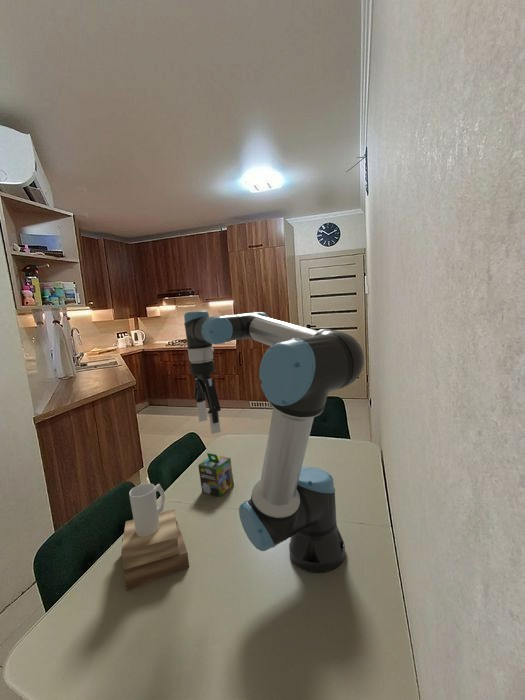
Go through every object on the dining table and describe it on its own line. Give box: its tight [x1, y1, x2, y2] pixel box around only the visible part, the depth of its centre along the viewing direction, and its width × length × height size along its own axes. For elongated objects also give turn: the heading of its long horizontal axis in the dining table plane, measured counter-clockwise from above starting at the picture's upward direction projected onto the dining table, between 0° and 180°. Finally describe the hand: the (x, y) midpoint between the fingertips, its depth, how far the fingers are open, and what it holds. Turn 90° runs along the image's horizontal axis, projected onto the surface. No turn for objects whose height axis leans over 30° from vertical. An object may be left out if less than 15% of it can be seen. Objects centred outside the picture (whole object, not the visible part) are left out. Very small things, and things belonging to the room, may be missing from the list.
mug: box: [128, 482, 166, 537], centre depth 97 cm, size 10×7×12 cm, turn 143°
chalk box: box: [198, 452, 235, 498], centre depth 132 cm, size 9×9×15 cm
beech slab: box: [120, 509, 179, 571], centre depth 97 cm, size 14×14×5 cm
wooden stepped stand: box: [121, 520, 190, 592], centre depth 98 cm, size 16×16×5 cm
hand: (209, 426), depth 110 cm, fingers open, 13 cm apart
